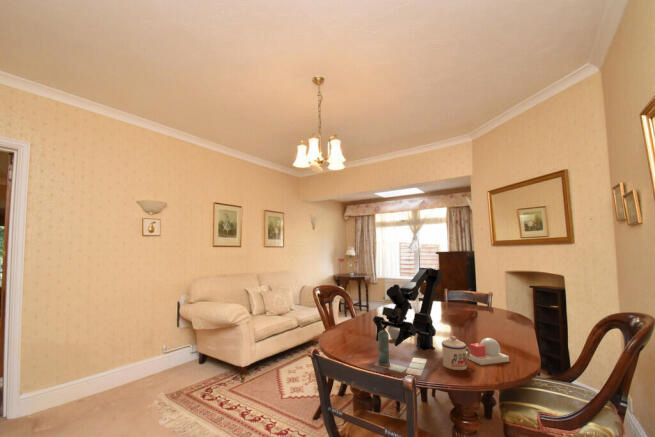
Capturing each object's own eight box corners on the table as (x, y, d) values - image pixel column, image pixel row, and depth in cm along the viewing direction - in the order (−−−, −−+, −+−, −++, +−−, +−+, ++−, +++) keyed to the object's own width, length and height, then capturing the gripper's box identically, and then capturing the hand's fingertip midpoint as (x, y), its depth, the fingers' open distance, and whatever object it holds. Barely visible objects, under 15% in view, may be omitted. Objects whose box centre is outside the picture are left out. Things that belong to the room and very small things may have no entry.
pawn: (389, 362, 122) (388, 329, 123) (390, 366, 117) (389, 332, 118) (377, 361, 122) (376, 328, 124) (378, 366, 118) (377, 332, 119)
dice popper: (490, 353, 133) (489, 334, 134) (509, 361, 123) (507, 340, 124) (463, 356, 129) (462, 336, 130) (480, 365, 120) (479, 343, 121)
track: (422, 357, 128) (422, 356, 128) (448, 373, 112) (448, 372, 112) (371, 363, 122) (371, 361, 122) (391, 381, 106) (391, 379, 106)
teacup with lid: (452, 373, 112) (451, 340, 114) (437, 364, 121) (436, 334, 122) (479, 369, 116) (477, 338, 117) (462, 361, 124) (461, 332, 125)
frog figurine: (390, 337, 159) (390, 323, 160) (403, 339, 155) (402, 325, 156) (385, 339, 155) (385, 325, 156) (397, 342, 150) (397, 327, 151)
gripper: (374, 297, 134) (358, 327, 125) (411, 302, 120) (396, 336, 111) (385, 312, 138) (371, 342, 130) (422, 319, 125) (409, 353, 116)
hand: (385, 343), depth 121 cm, fingers open, 9 cm apart
